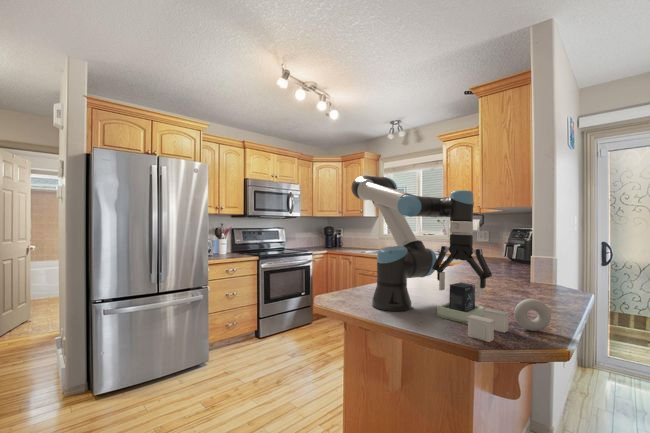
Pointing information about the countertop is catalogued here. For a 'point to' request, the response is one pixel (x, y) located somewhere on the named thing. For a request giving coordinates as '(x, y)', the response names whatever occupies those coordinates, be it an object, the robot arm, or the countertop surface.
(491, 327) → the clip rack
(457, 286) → the box
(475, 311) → the tray
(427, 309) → the countertop surface
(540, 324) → the donut
